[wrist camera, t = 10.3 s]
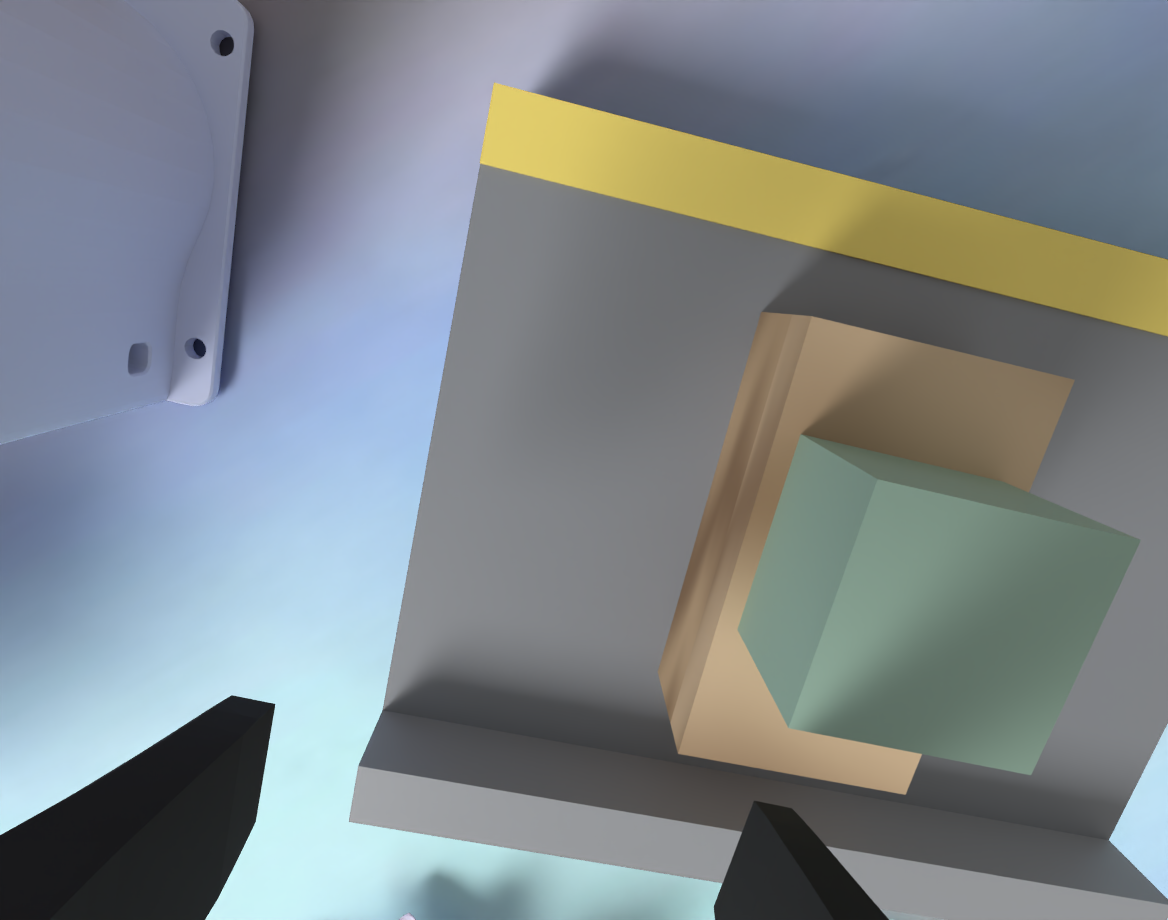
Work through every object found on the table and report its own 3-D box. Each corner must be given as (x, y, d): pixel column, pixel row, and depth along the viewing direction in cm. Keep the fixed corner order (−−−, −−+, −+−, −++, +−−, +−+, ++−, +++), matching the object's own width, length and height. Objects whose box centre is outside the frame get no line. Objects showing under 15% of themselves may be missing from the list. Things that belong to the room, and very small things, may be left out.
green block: (927, 669, 13) (1031, 775, 10) (737, 629, 13) (788, 728, 10) (1003, 481, 12) (1140, 539, 9) (800, 434, 12) (877, 479, 9)
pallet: (846, 708, 17) (904, 794, 14) (657, 671, 16) (678, 754, 13) (973, 363, 15) (1075, 379, 12) (761, 311, 14) (812, 316, 11)
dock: (1015, 803, 21) (1148, 952, 16) (401, 691, 20) (348, 821, 15) (1239, 311, 18) (1497, 318, 13) (507, 122, 16) (482, 47, 11)
